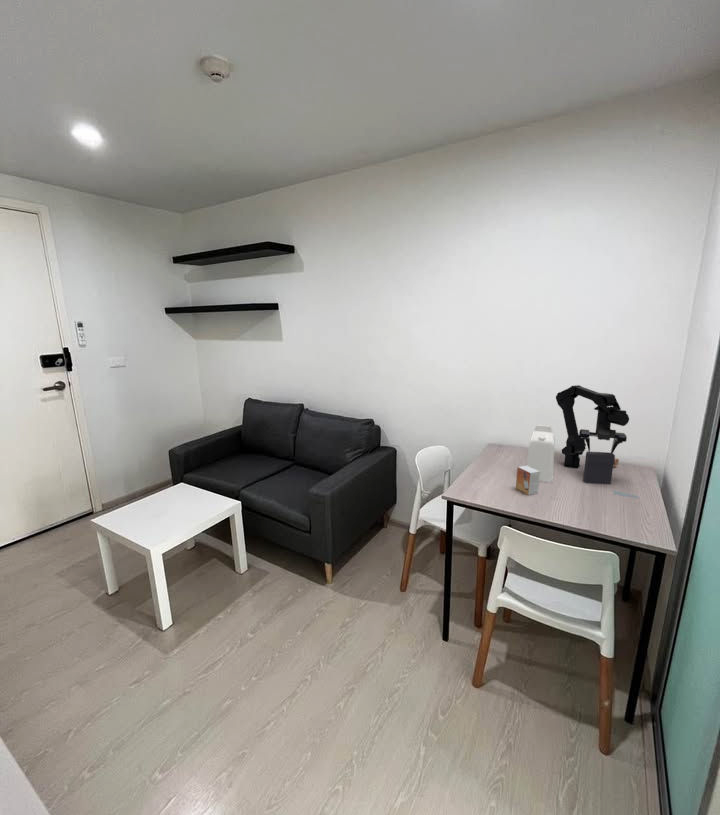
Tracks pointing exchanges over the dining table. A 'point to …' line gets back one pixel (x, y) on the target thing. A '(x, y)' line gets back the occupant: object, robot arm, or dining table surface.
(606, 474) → the calculator
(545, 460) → the milk
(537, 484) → the small box
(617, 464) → the bar
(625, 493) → the mat
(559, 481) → the dining table surface
